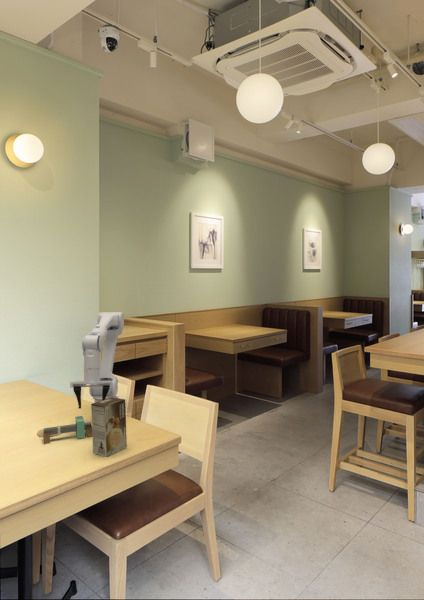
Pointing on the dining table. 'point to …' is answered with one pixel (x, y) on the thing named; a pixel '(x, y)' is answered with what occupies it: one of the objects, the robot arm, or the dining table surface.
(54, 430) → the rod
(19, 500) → the dining table surface
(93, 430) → the coffee box
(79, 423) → the green rectangular loop
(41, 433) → the coaster
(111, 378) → the robot arm
